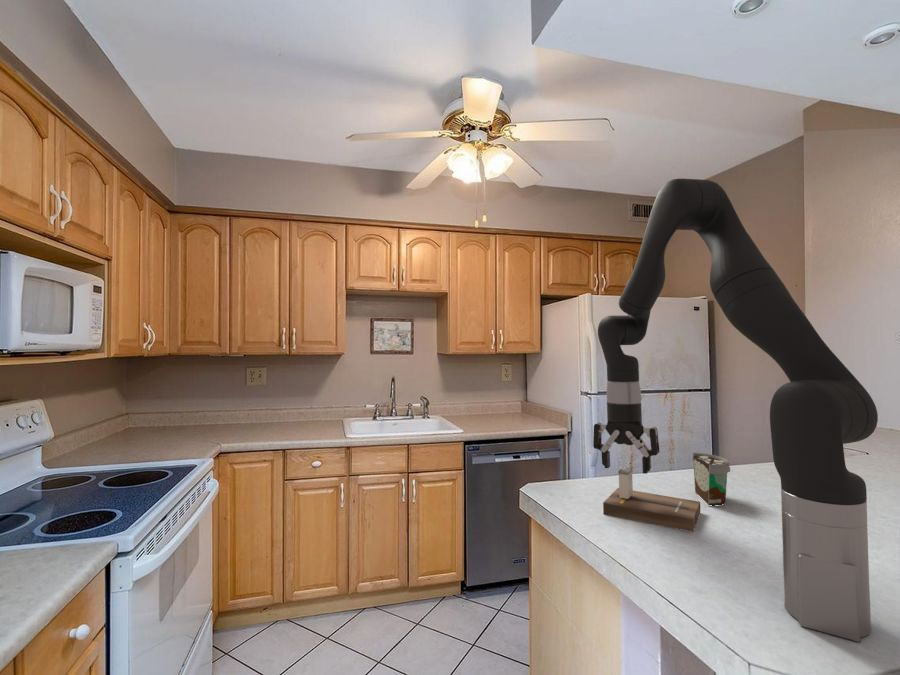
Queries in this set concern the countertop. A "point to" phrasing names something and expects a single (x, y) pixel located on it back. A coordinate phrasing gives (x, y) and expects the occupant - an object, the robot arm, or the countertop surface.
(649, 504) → the fader console
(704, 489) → the food container
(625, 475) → the fader tab
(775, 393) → the robot arm
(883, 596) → the countertop surface
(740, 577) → the countertop surface
